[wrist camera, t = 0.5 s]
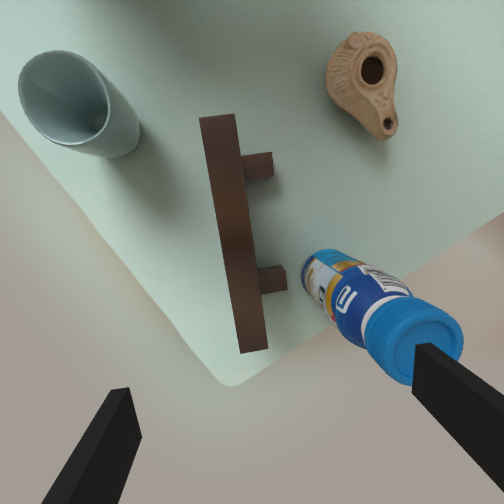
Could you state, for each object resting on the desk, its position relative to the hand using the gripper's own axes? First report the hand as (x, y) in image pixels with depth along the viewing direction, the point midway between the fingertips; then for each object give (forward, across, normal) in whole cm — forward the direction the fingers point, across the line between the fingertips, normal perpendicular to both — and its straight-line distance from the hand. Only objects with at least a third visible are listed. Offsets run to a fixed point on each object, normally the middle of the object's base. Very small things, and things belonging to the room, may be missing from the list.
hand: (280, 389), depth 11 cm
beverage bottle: (+26, +12, -4) cm, 29 cm away
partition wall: (+26, +1, +4) cm, 26 cm away
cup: (+26, -15, +18) cm, 35 cm away
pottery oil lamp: (+26, +17, +20) cm, 37 cm away
